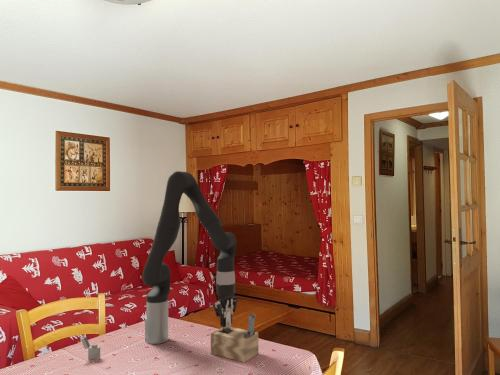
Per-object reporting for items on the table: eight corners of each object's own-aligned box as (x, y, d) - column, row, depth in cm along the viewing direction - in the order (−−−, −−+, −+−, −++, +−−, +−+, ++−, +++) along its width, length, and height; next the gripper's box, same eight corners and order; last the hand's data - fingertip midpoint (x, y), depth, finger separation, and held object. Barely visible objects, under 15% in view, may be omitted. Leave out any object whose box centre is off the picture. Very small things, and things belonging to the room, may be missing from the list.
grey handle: (248, 316, 144) (251, 316, 144) (253, 313, 147) (256, 314, 147) (246, 336, 145) (248, 337, 144) (251, 333, 148) (253, 334, 147)
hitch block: (210, 353, 150) (210, 328, 150) (226, 345, 158) (225, 322, 159) (244, 362, 141) (244, 336, 141) (258, 353, 149) (258, 328, 150)
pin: (220, 332, 152) (220, 308, 152) (225, 330, 154) (225, 306, 155) (227, 334, 150) (227, 309, 150) (232, 331, 152) (232, 307, 153)
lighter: (100, 357, 147) (100, 336, 148) (98, 359, 145) (98, 338, 146) (82, 357, 148) (83, 336, 148) (80, 359, 146) (80, 338, 146)
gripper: (228, 278, 161) (229, 319, 160) (207, 284, 149) (207, 328, 148) (243, 279, 157) (244, 322, 156) (222, 286, 145) (223, 332, 144)
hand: (226, 325), depth 152 cm, fingers closed on pin, 3 cm apart
